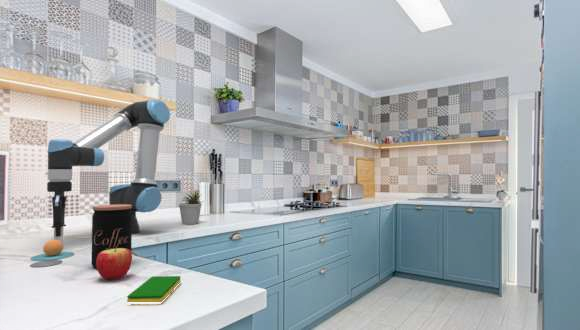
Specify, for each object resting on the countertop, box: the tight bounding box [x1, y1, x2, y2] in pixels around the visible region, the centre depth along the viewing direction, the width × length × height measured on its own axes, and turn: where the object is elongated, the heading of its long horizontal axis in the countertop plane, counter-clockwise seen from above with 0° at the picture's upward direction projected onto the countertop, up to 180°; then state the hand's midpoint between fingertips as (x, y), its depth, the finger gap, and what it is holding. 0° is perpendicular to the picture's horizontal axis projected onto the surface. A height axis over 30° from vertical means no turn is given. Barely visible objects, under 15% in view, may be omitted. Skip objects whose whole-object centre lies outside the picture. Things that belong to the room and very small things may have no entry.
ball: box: [42, 239, 64, 256], centre depth 112 cm, size 6×6×6 cm
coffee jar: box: [91, 204, 133, 270], centre depth 100 cm, size 11×11×18 cm
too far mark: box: [29, 259, 63, 268], centre depth 102 cm, size 8×8×1 cm
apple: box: [96, 239, 133, 281], centre depth 87 cm, size 8×8×10 cm
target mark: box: [30, 251, 75, 262], centre depth 112 cm, size 12×12×1 cm
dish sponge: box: [126, 275, 181, 302], centre depth 75 cm, size 7×14×2 cm, turn 2°
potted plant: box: [178, 189, 205, 226], centre depth 190 cm, size 13×14×20 cm
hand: (58, 244), depth 122 cm, fingers closed
